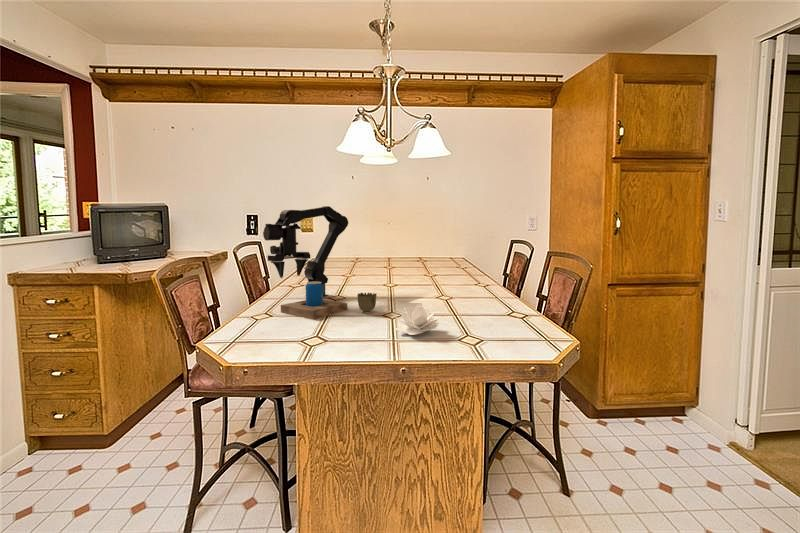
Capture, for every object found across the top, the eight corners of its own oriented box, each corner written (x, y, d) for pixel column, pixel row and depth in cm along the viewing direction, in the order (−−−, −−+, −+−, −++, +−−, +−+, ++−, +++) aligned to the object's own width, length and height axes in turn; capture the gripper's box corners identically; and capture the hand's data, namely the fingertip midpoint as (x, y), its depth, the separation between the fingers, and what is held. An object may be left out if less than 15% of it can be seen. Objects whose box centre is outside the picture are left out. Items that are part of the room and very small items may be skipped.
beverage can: (321, 314, 169) (321, 283, 168) (304, 314, 169) (304, 283, 168) (324, 311, 175) (323, 281, 174) (307, 311, 175) (307, 281, 174)
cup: (373, 316, 165) (373, 295, 164) (354, 315, 167) (354, 295, 166) (378, 312, 173) (378, 292, 172) (360, 312, 174) (360, 291, 173)
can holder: (315, 306, 185) (315, 298, 184) (347, 311, 174) (347, 303, 174) (280, 313, 170) (280, 304, 170) (313, 320, 160) (313, 310, 159)
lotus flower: (388, 334, 140) (388, 307, 139) (403, 324, 154) (403, 299, 153) (431, 338, 135) (432, 310, 134) (443, 327, 149) (444, 302, 148)
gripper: (293, 238, 198) (294, 273, 200) (258, 240, 183) (259, 277, 185) (310, 239, 192) (311, 275, 194) (275, 240, 177) (276, 279, 179)
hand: (290, 276), depth 188 cm, fingers open, 9 cm apart
